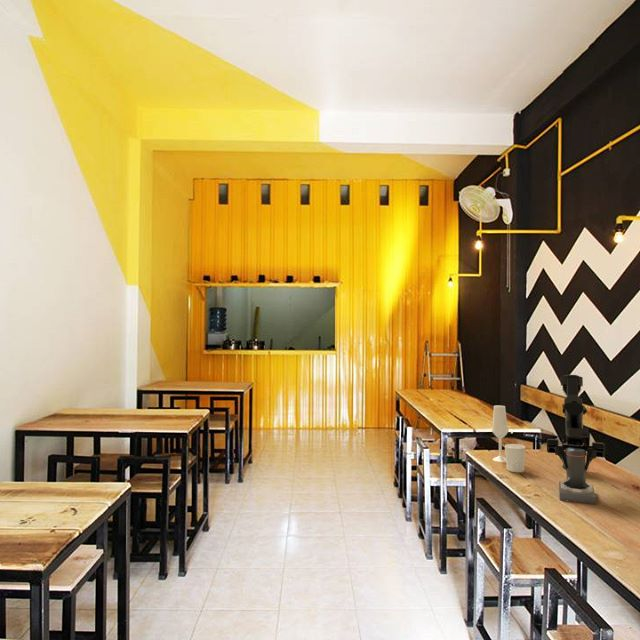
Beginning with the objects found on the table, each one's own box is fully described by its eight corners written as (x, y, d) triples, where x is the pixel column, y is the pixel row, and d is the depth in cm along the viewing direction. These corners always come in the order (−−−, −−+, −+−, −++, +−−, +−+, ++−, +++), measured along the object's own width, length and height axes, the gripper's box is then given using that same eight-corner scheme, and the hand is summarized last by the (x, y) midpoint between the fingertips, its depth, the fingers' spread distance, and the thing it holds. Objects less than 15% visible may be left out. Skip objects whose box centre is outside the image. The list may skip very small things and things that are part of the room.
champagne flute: (506, 462, 216) (505, 408, 217) (490, 460, 220) (489, 406, 220) (510, 459, 222) (509, 405, 222) (494, 457, 226) (493, 404, 226)
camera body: (559, 488, 183) (558, 477, 183) (592, 492, 178) (592, 481, 178) (559, 500, 171) (559, 488, 171) (595, 504, 167) (595, 492, 167)
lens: (575, 482, 179) (574, 446, 179) (590, 488, 173) (589, 450, 173) (562, 485, 177) (562, 448, 177) (577, 490, 171) (576, 452, 171)
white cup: (528, 472, 202) (528, 448, 202) (509, 473, 202) (508, 448, 202) (521, 467, 210) (520, 443, 210) (502, 467, 210) (502, 443, 210)
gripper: (546, 416, 183) (546, 454, 173) (604, 420, 175) (608, 459, 165) (546, 433, 190) (547, 470, 180) (602, 437, 182) (606, 476, 172)
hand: (576, 469), depth 174 cm, fingers closed on lens, 6 cm apart
